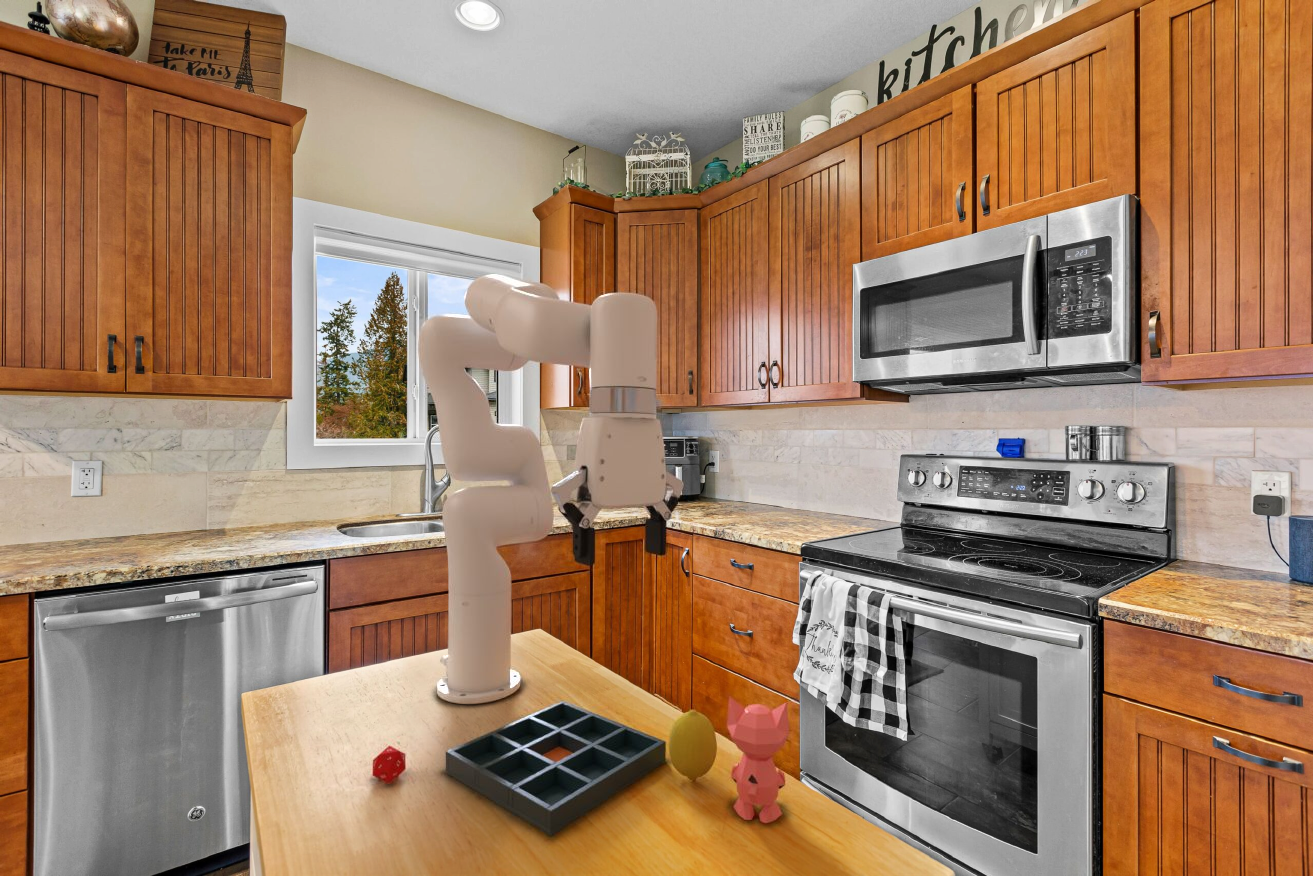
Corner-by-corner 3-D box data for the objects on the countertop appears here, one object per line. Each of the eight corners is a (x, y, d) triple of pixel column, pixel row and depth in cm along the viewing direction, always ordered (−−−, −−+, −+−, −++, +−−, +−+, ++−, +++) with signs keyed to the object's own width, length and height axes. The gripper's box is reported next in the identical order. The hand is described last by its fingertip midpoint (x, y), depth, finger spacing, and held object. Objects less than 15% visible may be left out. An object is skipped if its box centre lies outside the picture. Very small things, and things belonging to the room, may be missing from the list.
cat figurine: (792, 800, 67) (793, 689, 67) (790, 840, 60) (791, 716, 60) (727, 791, 68) (728, 683, 69) (718, 828, 62) (719, 708, 62)
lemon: (713, 796, 67) (714, 723, 67) (664, 790, 68) (664, 718, 69) (718, 770, 73) (719, 702, 73) (672, 764, 74) (673, 698, 74)
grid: (445, 772, 72) (445, 751, 72) (562, 718, 86) (562, 700, 86) (550, 837, 60) (550, 811, 60) (665, 761, 75) (666, 741, 75)
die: (358, 775, 69) (379, 748, 69) (376, 759, 72) (395, 733, 72) (382, 796, 69) (403, 769, 68) (399, 780, 72) (418, 754, 72)
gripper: (662, 410, 77) (660, 546, 77) (537, 404, 67) (536, 562, 67) (702, 408, 71) (700, 555, 71) (573, 401, 61) (571, 574, 61)
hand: (621, 558), depth 69 cm, fingers open, 9 cm apart
